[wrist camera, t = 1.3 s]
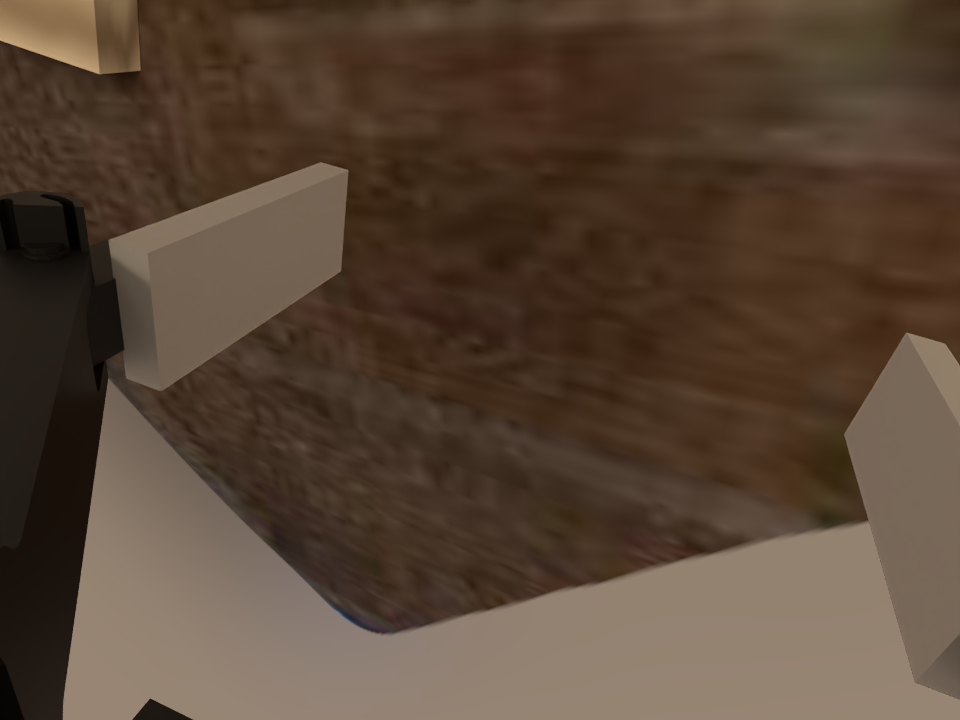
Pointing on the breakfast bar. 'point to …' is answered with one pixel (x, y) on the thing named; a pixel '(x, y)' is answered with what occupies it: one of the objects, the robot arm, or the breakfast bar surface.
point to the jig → (76, 31)
